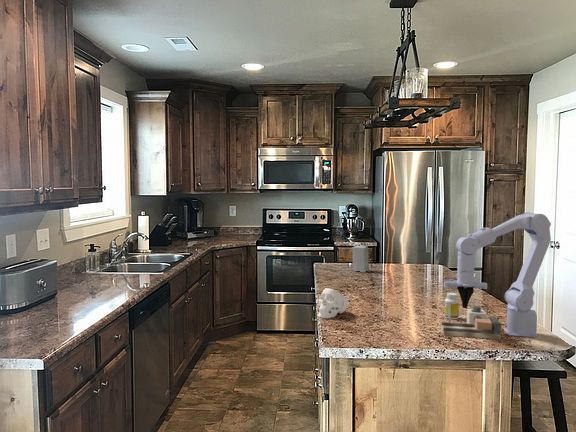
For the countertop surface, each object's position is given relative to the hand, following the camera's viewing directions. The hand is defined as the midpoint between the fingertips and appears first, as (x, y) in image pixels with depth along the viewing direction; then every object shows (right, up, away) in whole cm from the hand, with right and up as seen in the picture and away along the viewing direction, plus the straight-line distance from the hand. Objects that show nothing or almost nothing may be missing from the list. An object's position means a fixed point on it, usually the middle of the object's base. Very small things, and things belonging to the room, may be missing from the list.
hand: (464, 307), depth 171 cm
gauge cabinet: (+8, -9, +10) cm, 16 cm away
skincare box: (-19, -2, +123) cm, 125 cm away
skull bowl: (-46, -8, +25) cm, 53 cm away
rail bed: (+2, -9, 0) cm, 10 cm away
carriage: (+6, -8, -1) cm, 10 cm away
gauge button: (+8, -7, +10) cm, 14 cm away
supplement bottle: (+2, -8, +20) cm, 22 cm away
